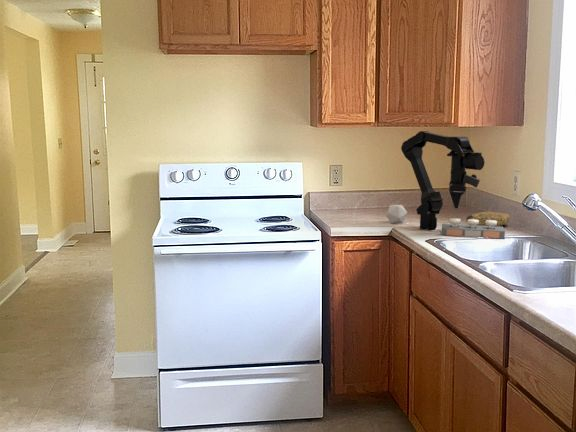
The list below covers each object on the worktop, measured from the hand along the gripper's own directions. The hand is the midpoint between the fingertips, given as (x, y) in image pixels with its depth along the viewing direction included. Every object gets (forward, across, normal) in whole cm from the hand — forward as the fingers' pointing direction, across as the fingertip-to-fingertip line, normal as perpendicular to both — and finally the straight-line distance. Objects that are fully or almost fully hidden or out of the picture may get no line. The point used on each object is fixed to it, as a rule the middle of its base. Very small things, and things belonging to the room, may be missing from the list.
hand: (456, 206), depth 265 cm
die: (+11, +20, +25) cm, 34 cm away
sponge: (+11, +23, -15) cm, 30 cm away
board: (+11, 0, -7) cm, 13 cm away
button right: (+9, 0, -14) cm, 16 cm away
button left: (+9, 0, 0) cm, 9 cm away
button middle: (+9, 0, -7) cm, 11 cm away
